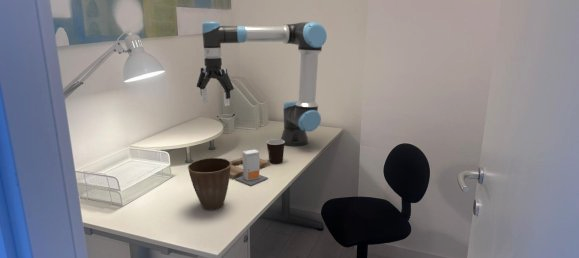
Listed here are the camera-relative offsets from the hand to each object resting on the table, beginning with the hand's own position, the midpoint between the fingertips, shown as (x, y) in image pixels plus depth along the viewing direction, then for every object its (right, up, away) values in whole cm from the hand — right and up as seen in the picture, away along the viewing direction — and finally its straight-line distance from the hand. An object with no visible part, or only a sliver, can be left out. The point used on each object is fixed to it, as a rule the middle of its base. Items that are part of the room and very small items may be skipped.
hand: (215, 104), depth 176 cm
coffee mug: (+28, -27, +10) cm, 40 cm away
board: (+12, -30, 0) cm, 32 cm away
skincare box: (+18, -33, -12) cm, 39 cm away
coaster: (+18, -33, -13) cm, 40 cm away
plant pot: (+6, -40, -36) cm, 54 cm away
